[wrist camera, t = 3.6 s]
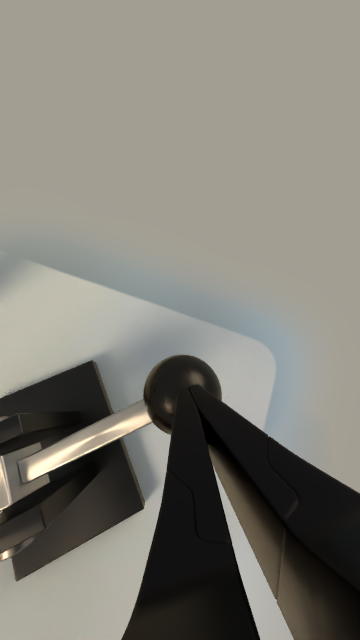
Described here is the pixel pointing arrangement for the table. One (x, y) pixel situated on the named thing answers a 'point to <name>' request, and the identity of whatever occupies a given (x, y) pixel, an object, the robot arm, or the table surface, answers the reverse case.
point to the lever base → (64, 471)
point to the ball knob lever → (105, 428)
